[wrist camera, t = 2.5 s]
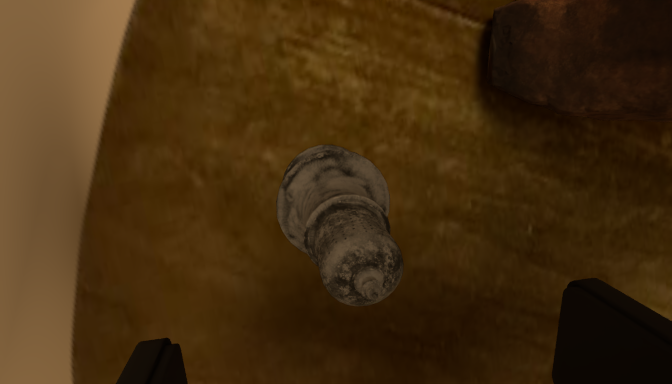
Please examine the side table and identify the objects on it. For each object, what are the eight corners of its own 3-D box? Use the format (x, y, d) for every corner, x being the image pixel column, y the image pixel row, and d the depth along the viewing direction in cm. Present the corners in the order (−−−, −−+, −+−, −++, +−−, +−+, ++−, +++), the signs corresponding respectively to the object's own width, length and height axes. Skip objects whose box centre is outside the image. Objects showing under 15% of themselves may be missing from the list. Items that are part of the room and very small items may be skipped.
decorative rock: (663, 27, 22) (985, -16, 12) (627, 126, 24) (883, 162, 14) (485, -12, 20) (696, -103, 10) (459, 100, 22) (617, 120, 12)
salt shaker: (268, 147, 21) (255, 222, 9) (368, 132, 21) (468, 185, 10) (285, 241, 23) (292, 398, 11) (377, 224, 23) (472, 357, 12)
